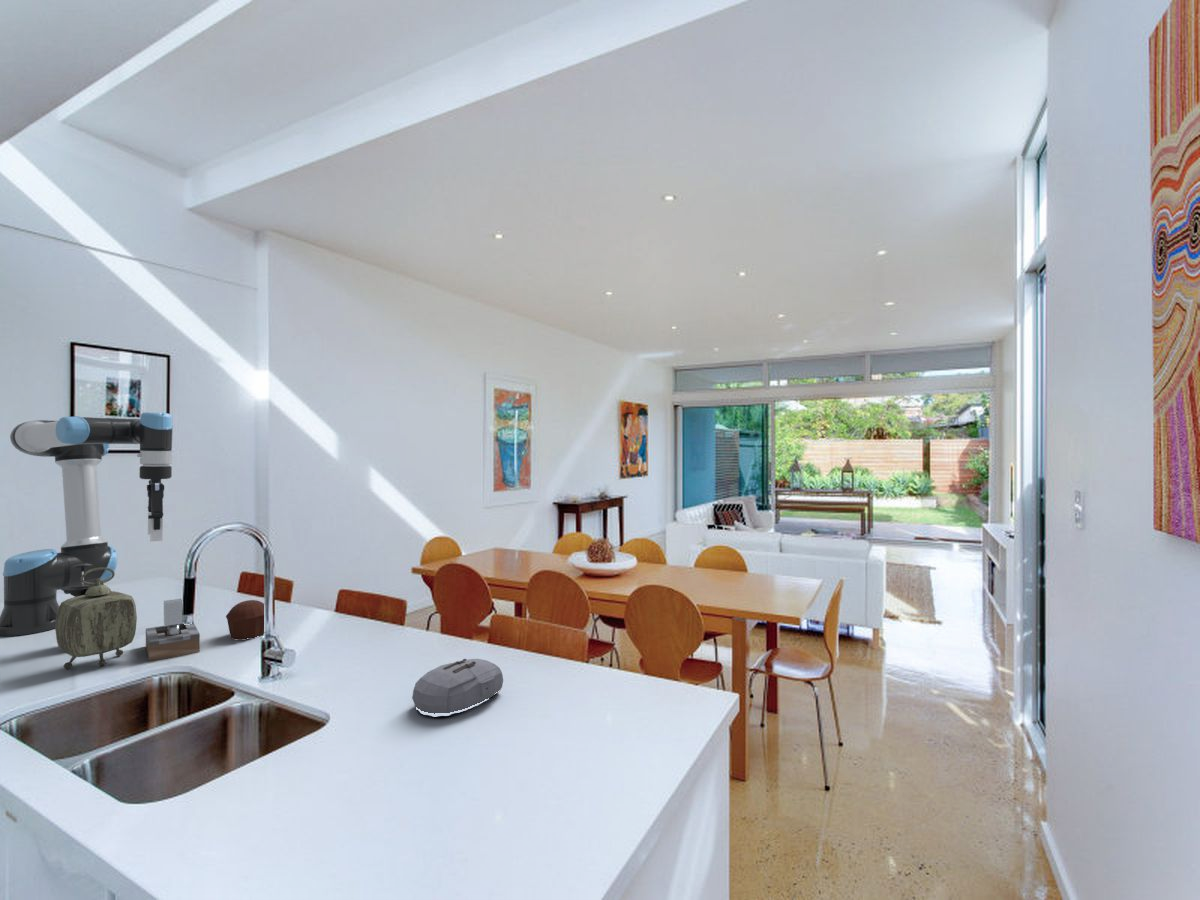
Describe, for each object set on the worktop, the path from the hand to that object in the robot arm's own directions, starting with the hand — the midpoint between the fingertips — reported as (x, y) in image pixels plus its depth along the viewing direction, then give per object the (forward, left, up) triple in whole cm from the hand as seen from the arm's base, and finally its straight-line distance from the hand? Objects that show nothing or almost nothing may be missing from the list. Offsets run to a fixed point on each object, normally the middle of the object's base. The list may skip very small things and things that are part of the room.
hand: (154, 537), depth 173 cm
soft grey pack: (+96, +48, -30) cm, 112 cm away
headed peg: (+18, +3, -30) cm, 35 cm away
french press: (-4, -16, -30) cm, 34 cm away
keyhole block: (+15, +3, -30) cm, 33 cm away
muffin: (+15, +21, -30) cm, 40 cm away
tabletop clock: (+17, -13, -30) cm, 36 cm away
